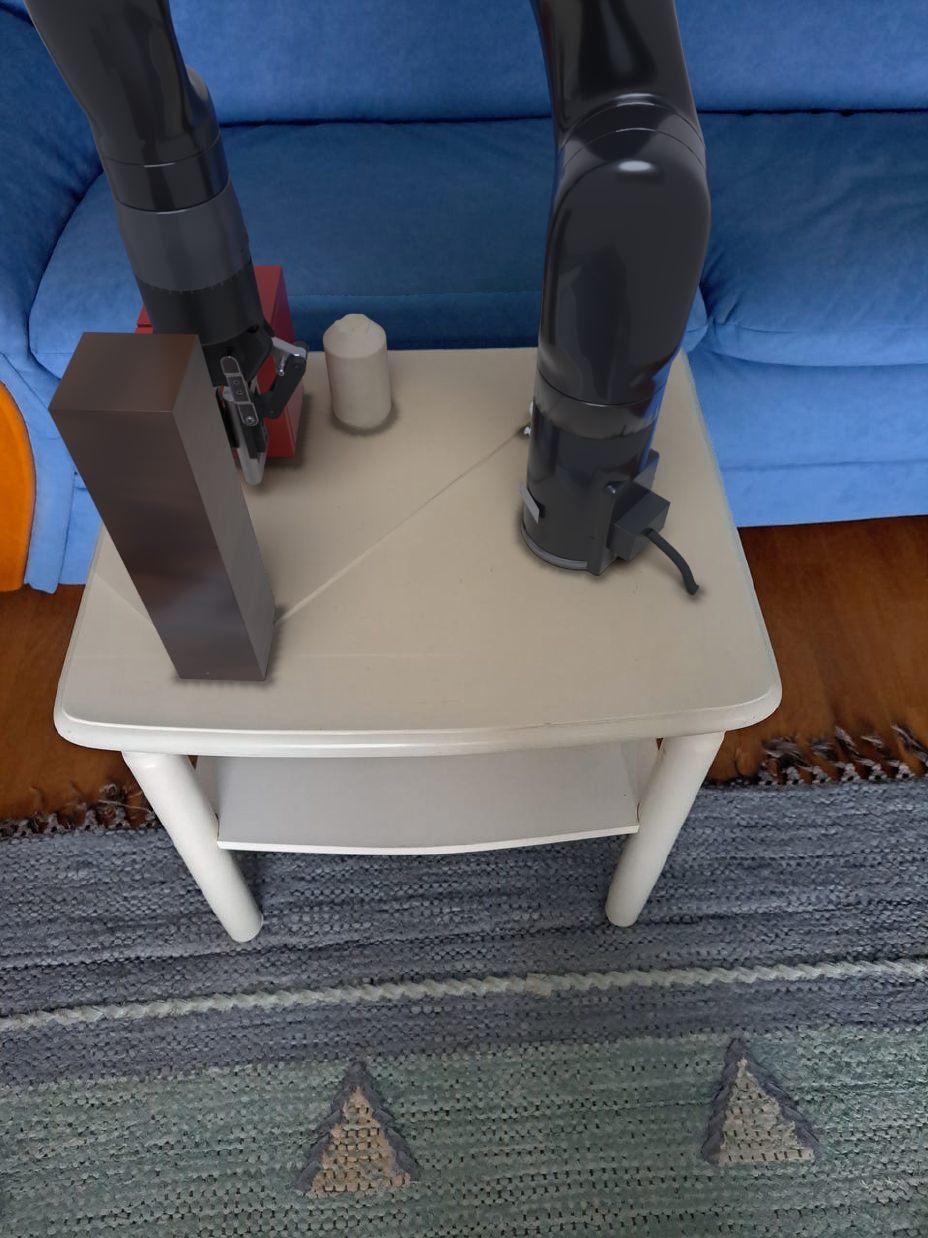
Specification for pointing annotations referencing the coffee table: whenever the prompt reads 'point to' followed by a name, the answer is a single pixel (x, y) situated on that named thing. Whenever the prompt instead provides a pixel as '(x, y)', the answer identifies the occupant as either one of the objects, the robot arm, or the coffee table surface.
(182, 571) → the plinth
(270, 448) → the valve door
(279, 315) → the cabinet
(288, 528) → the coffee table surface
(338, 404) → the candle
